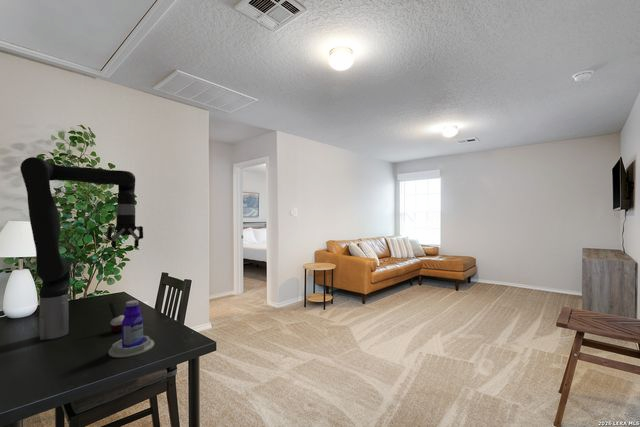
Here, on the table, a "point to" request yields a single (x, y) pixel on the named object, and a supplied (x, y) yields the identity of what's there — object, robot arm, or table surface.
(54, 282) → the robot arm
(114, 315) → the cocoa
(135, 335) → the bottle
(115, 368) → the table surface
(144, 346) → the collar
